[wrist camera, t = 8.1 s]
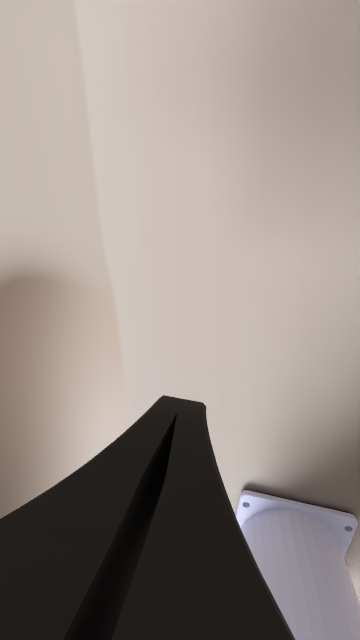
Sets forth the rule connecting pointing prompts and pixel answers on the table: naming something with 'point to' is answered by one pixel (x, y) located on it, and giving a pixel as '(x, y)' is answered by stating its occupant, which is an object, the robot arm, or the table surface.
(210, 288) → the table surface
